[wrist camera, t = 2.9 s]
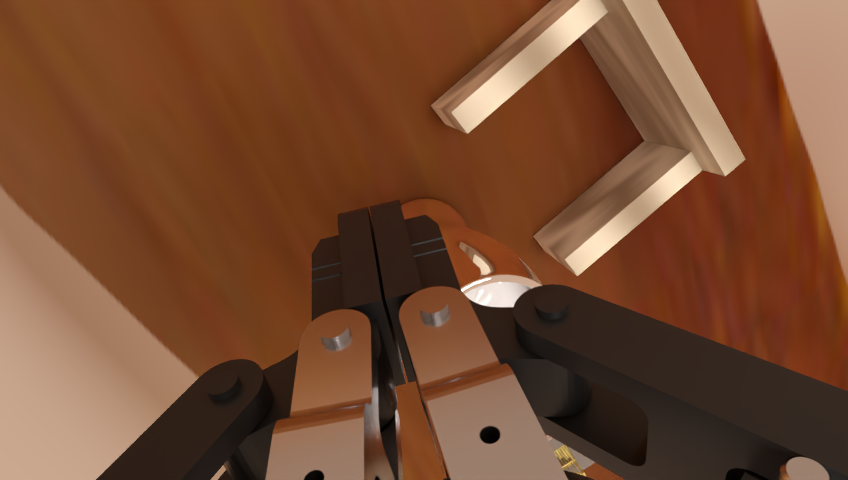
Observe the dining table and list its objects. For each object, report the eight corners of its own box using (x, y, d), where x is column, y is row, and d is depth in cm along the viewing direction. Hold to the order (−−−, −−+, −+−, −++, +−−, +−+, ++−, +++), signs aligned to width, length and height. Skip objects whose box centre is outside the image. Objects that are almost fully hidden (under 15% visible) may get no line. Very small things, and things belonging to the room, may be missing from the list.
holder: (544, 251, 40) (593, 288, 34) (430, 105, 36) (461, 115, 29) (671, 143, 40) (745, 159, 33) (572, -19, 35) (636, -37, 29)
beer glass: (454, 175, 37) (551, 244, 23) (485, 267, 40) (589, 381, 26) (354, 215, 37) (391, 310, 23) (392, 306, 39) (446, 444, 25)
